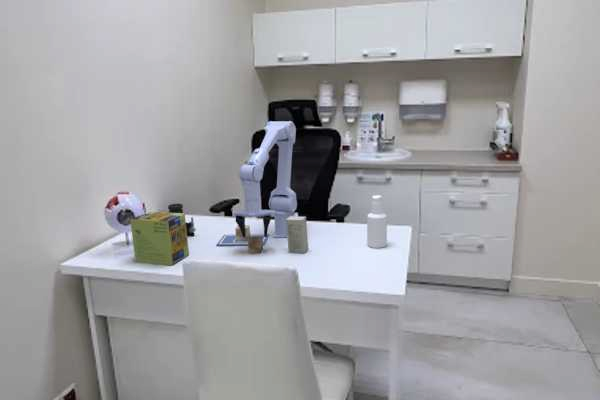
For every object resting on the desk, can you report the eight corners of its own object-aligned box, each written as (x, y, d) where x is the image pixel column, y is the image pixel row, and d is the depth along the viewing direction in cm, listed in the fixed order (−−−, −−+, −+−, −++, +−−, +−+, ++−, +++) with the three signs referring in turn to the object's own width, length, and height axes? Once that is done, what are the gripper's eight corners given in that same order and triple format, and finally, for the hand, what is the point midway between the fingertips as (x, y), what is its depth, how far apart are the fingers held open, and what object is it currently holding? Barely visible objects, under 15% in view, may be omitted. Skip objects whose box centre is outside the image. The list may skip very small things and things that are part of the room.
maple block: (250, 237, 180) (249, 224, 179) (248, 241, 175) (247, 228, 174) (238, 237, 180) (237, 225, 179) (236, 241, 176) (235, 228, 175)
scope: (193, 201, 184) (178, 208, 175) (196, 235, 187) (182, 243, 178) (175, 201, 187) (160, 207, 178) (179, 233, 190) (164, 241, 181)
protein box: (173, 265, 155) (168, 221, 152) (134, 262, 160) (129, 219, 157) (190, 255, 165) (185, 212, 161) (153, 251, 170) (148, 210, 166)
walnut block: (263, 249, 168) (262, 236, 166) (261, 253, 163) (260, 240, 162) (251, 249, 168) (250, 236, 167) (248, 253, 164) (247, 240, 162)
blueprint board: (269, 235, 183) (268, 234, 183) (264, 245, 171) (264, 244, 171) (224, 236, 184) (224, 234, 184) (216, 246, 173) (216, 244, 173)
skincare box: (308, 249, 165) (307, 216, 162) (304, 253, 161) (303, 219, 158) (291, 248, 167) (290, 215, 164) (287, 252, 163) (285, 218, 160)
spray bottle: (388, 243, 168) (388, 194, 164) (383, 249, 162) (383, 199, 158) (370, 241, 171) (370, 193, 167) (364, 247, 165) (364, 198, 161)
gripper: (229, 202, 158) (232, 240, 161) (271, 201, 157) (273, 239, 160) (233, 197, 165) (236, 234, 168) (274, 196, 163) (276, 233, 167)
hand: (255, 236), depth 164 cm, fingers open, 7 cm apart
